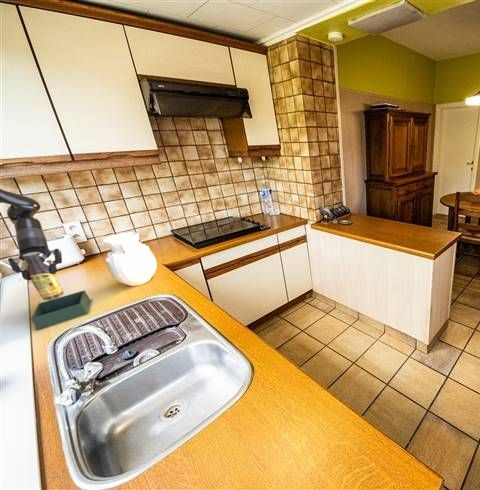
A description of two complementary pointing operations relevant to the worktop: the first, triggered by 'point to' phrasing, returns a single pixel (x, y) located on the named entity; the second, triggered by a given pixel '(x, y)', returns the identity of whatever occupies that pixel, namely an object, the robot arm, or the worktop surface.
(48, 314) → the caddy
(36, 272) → the sauce bottle
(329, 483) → the worktop surface
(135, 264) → the pitcher
